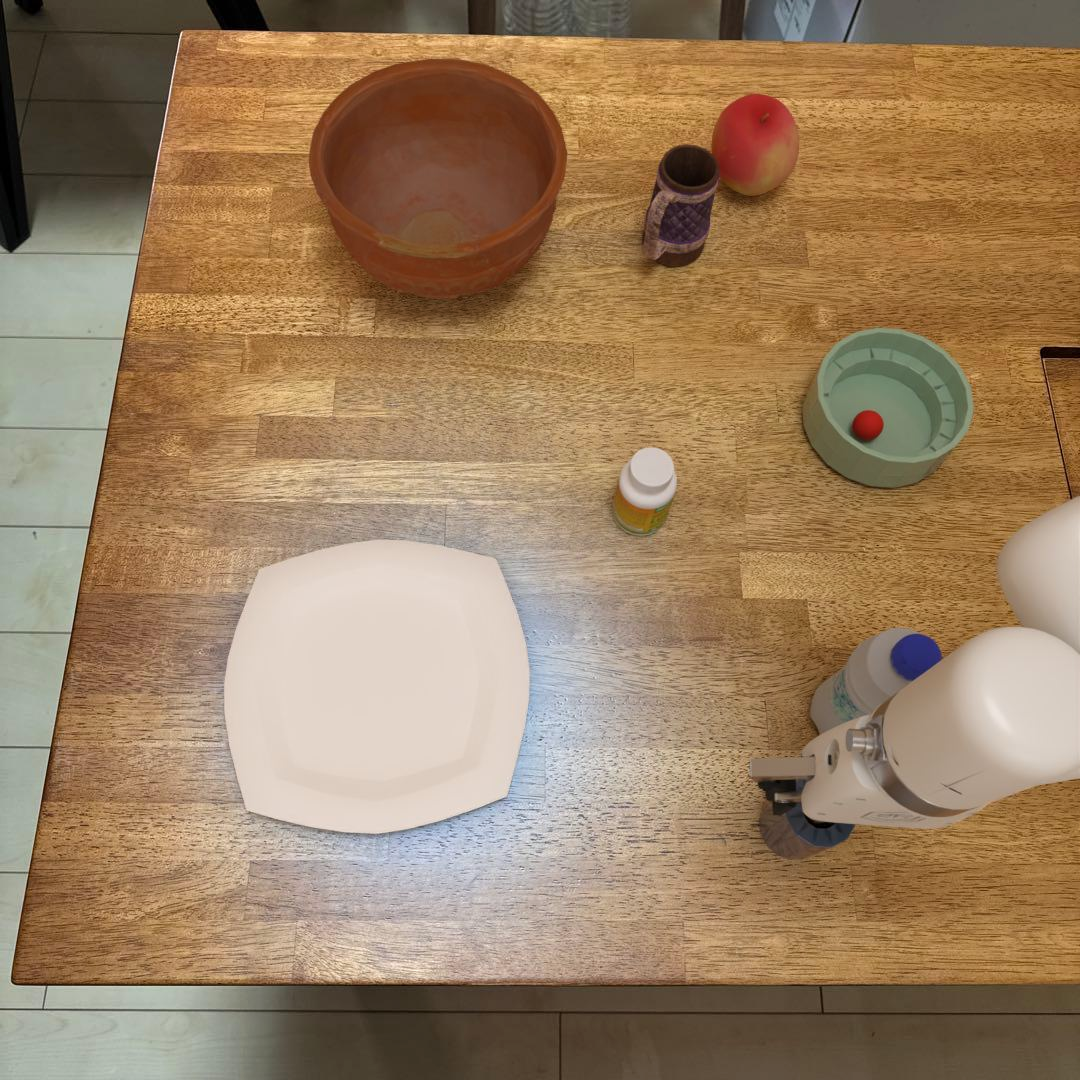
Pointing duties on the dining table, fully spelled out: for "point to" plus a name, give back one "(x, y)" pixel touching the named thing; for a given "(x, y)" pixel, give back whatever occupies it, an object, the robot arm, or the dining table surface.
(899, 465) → the green round dish
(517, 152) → the bowl
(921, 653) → the bottle
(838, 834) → the holder
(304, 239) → the dining table surface
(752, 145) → the apple
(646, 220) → the mug
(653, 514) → the supplement bottle
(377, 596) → the plate
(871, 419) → the red ball
